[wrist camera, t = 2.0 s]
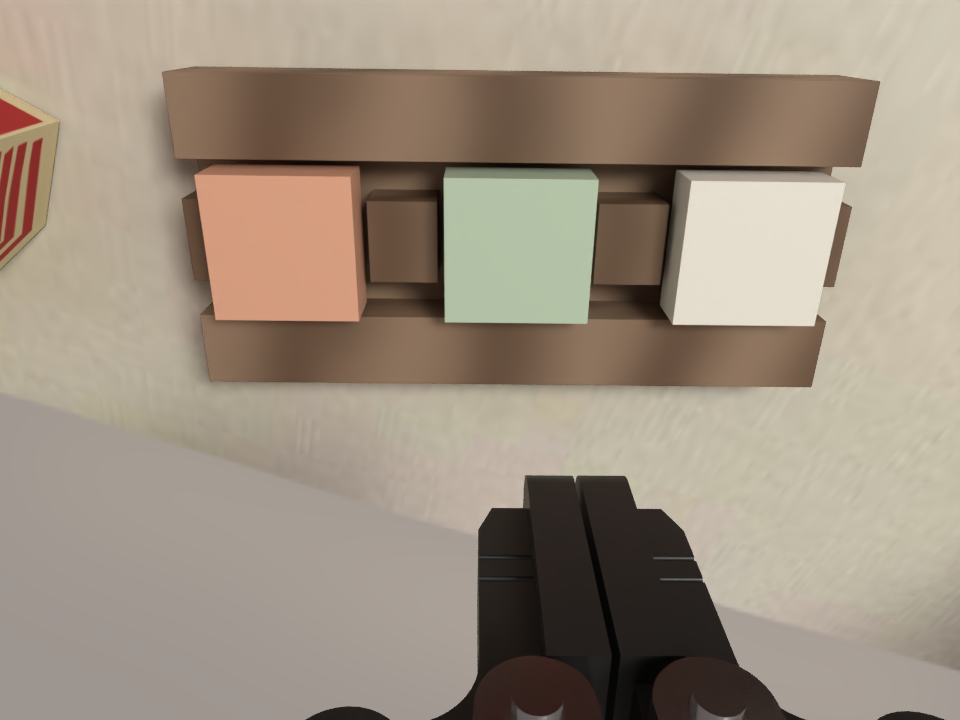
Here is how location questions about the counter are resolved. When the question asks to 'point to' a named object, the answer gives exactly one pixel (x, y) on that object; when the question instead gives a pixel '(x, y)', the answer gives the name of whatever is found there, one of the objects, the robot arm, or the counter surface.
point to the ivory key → (749, 246)
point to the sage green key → (518, 244)
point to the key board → (514, 144)
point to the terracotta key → (283, 241)
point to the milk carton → (24, 172)
